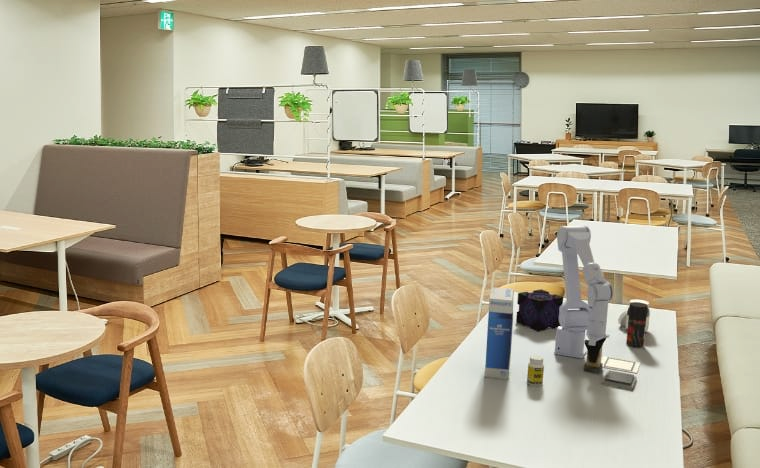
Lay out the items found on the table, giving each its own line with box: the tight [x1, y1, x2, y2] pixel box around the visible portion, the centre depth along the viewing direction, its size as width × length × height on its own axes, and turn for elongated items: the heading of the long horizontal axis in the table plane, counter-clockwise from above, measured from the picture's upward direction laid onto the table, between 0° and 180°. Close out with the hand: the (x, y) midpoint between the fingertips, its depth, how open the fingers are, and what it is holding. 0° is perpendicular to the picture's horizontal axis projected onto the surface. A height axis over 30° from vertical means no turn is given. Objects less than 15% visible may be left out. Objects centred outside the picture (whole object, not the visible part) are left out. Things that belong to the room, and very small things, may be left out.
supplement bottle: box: [526, 354, 545, 387], centre depth 221 cm, size 5×5×8 cm
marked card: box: [601, 355, 641, 374], centre depth 238 cm, size 12×10×1 cm
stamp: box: [583, 346, 604, 375], centre depth 232 cm, size 5×5×8 cm
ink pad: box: [601, 369, 637, 391], centre depth 224 cm, size 9×9×2 cm
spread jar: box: [617, 299, 651, 335], centre depth 272 cm, size 12×11×12 cm
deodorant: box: [625, 302, 649, 349], centre depth 256 cm, size 6×6×15 cm
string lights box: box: [484, 287, 515, 380], centre depth 228 cm, size 13×8×26 cm, turn 168°
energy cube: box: [515, 288, 564, 332], centre depth 276 cm, size 12×12×12 cm
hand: (593, 360), depth 232 cm, fingers closed on stamp, 4 cm apart
